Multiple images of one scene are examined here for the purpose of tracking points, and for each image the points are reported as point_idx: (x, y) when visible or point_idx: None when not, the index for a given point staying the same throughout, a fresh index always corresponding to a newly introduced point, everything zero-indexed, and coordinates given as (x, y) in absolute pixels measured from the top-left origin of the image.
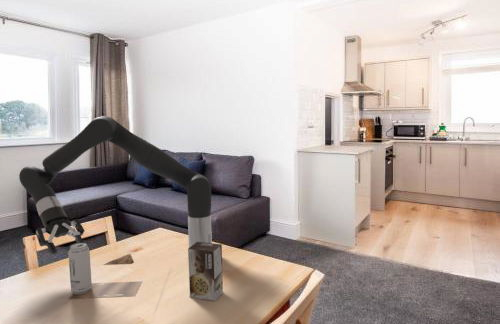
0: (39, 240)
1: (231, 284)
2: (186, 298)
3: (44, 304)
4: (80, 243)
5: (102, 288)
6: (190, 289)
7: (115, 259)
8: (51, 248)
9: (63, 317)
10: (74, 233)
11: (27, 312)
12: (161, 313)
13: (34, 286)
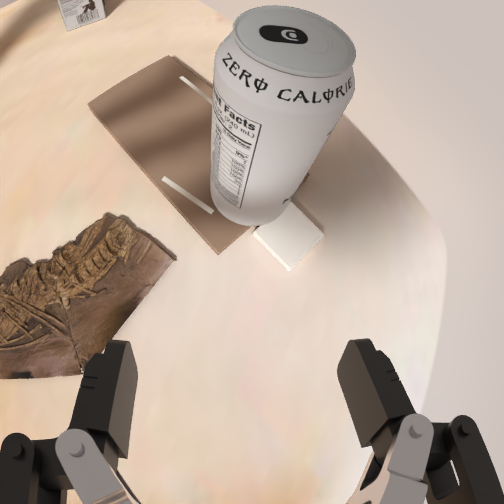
0: (454, 484)
1: (40, 20)
2: (114, 17)
3: (365, 232)
4: (259, 57)
5: (190, 149)
6: (103, 3)
7: (5, 378)
8: (389, 375)
9: (342, 122)
10: (115, 474)
11: (407, 226)
12: (184, 8)
13: (343, 414)
